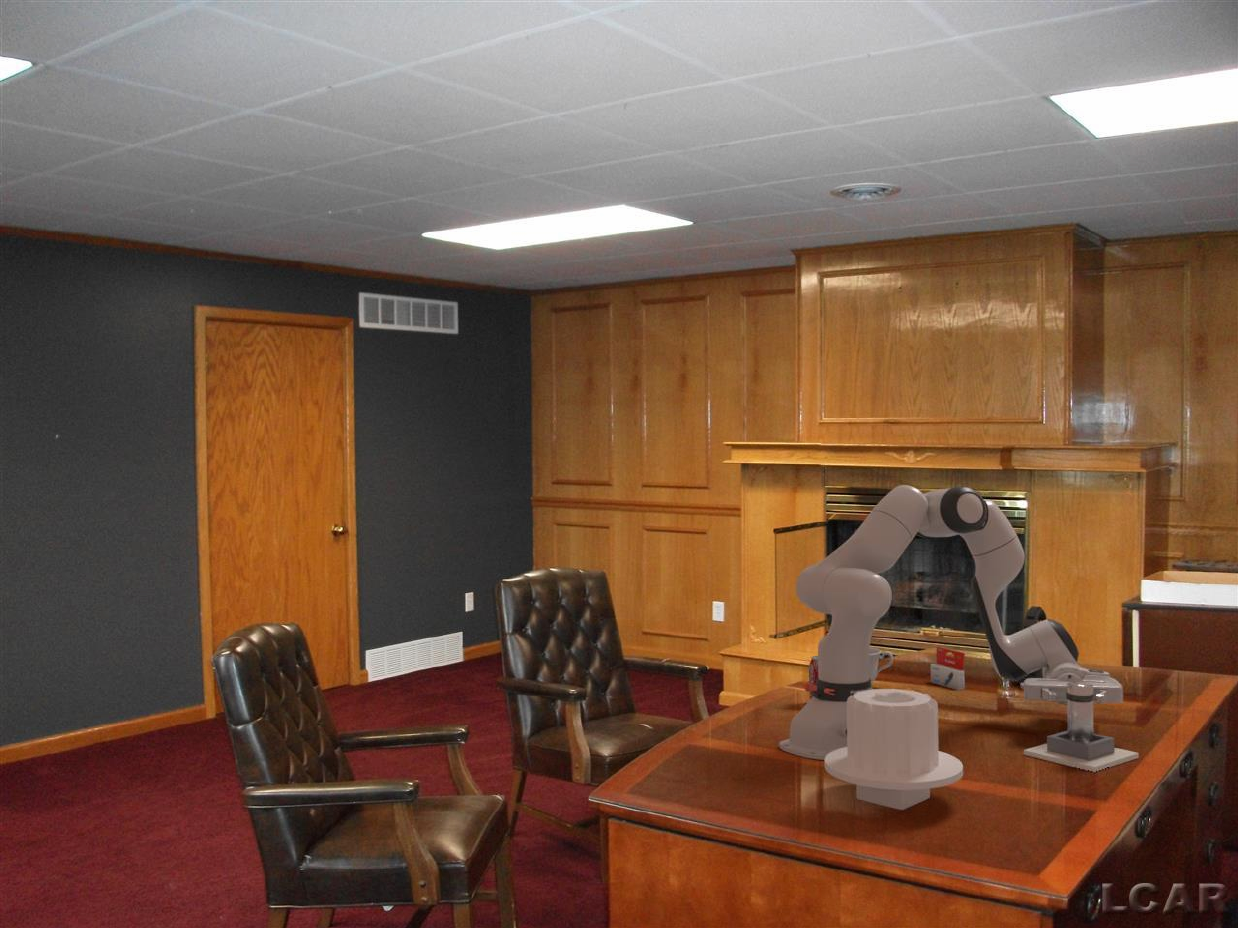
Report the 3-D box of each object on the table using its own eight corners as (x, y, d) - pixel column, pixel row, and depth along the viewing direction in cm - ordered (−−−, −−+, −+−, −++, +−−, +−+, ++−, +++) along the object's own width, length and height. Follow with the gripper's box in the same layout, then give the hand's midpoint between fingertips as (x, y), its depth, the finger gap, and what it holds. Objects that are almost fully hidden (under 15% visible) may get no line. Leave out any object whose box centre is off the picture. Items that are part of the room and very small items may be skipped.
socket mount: (1094, 772, 219) (1094, 752, 219) (1023, 754, 232) (1023, 735, 232) (1138, 757, 228) (1138, 738, 228) (1068, 741, 241) (1068, 723, 241)
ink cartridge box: (958, 690, 292) (957, 653, 292) (930, 682, 302) (929, 647, 302) (965, 689, 293) (965, 652, 293) (937, 681, 303) (936, 646, 303)
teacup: (894, 692, 291) (894, 654, 291) (837, 691, 294) (836, 653, 294) (892, 682, 303) (892, 646, 302) (837, 681, 306) (836, 645, 305)
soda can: (830, 709, 274) (829, 661, 274) (804, 705, 279) (803, 658, 278) (842, 703, 280) (841, 656, 280) (817, 700, 284) (816, 653, 284)
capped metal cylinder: (1085, 756, 226) (1084, 688, 226) (1061, 750, 231) (1060, 684, 230) (1100, 751, 229) (1099, 684, 229) (1076, 746, 234) (1075, 680, 233)
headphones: (1040, 688, 293) (1039, 613, 293) (1015, 685, 296) (1014, 611, 296) (1055, 672, 312) (1054, 602, 311) (1032, 670, 315) (1031, 600, 315)
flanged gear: (798, 799, 206) (796, 698, 205) (872, 770, 223) (870, 677, 223) (918, 831, 188) (916, 721, 187) (988, 796, 205) (986, 695, 205)
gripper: (1018, 669, 251) (1024, 682, 238) (1116, 672, 246) (1127, 685, 233) (1019, 696, 251) (1025, 711, 238) (1116, 700, 246) (1128, 715, 233)
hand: (1076, 698), depth 235 cm, fingers open, 8 cm apart
